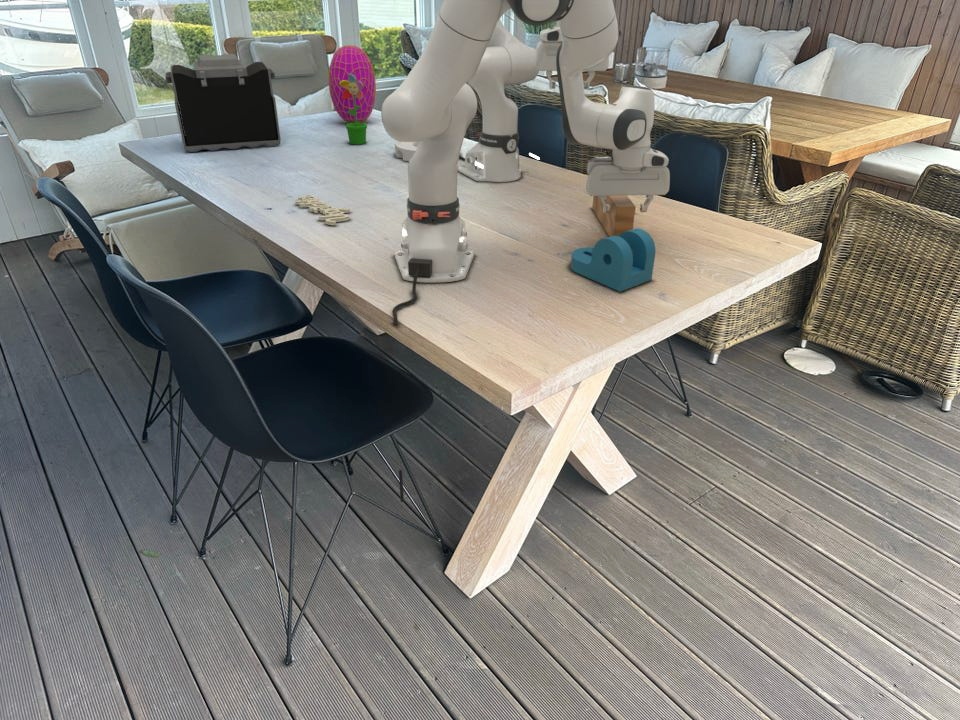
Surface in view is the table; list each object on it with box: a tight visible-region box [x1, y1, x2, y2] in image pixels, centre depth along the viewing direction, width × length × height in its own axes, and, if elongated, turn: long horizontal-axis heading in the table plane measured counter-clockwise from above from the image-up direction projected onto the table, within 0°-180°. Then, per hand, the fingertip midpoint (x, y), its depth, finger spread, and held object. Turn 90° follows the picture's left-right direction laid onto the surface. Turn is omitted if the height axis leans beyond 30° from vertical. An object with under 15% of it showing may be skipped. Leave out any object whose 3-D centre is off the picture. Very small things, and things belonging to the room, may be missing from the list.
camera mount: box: [570, 227, 656, 293], centre depth 154 cm, size 18×10×10 cm, turn 39°
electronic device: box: [164, 53, 282, 153], centre depth 252 cm, size 37×22×30 cm, turn 111°
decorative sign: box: [295, 194, 351, 226], centre depth 192 cm, size 26×1×10 cm
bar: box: [591, 195, 636, 237], centre depth 183 cm, size 27×5×9 cm, turn 3°
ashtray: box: [394, 141, 419, 162], centre depth 246 cm, size 23×23×4 cm
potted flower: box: [339, 73, 368, 145], centre depth 255 cm, size 9×8×25 cm
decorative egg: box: [328, 44, 377, 124], centre depth 286 cm, size 19×19×30 cm
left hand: (624, 211), depth 173 cm, fingers open, 8 cm apart
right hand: (569, 88), depth 189 cm, fingers open, 8 cm apart
